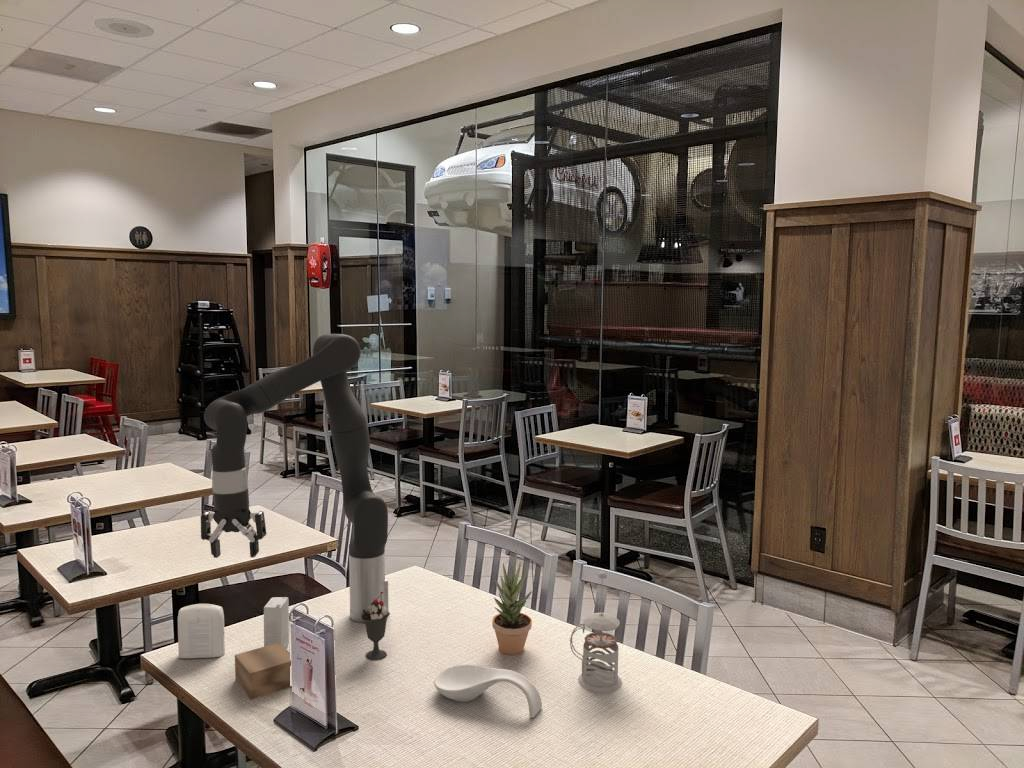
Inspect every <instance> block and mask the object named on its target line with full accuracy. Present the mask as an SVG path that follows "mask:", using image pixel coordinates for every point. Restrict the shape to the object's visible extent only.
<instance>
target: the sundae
mask: <svg viewBox="0 0 1024 768" xmlns="http://www.w3.org/2000/svg"><path fill="white" fill-rule="evenodd" d="M382 593H383V592H380V594H381V597H382ZM379 597H380V596H379ZM379 597H378V598H379ZM378 598H377V599H378ZM377 599H375V600H374V601H373V602H372V603H371V604H370V605H369V606H368V607H367V610H366V611H365V609H363V610H362V611H363V613H362V614H361V617H362V620H365V624H364V625H365V631H366V632H365V633H366V636H367V639H368V640H370V641H371V642H372V643H373V649H372V650H369V651H368V652H366V653H365V658H366V659H367V660H369V661H380V660H383V659H385V658H386V657H387V655H388V654H387V652H386V650H384V649H380V647H379V643H380V641H382V639H383V638H384V637H385V633H386V629H387V621H388V618H389V617H390V615H391V613H390V612H388V611H387V609H386V607H385V606H384V602H383V601H382V598H381V601H380V602H378V600H377Z"/></svg>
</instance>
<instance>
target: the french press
mask: <svg viewBox="0 0 1024 768" xmlns="http://www.w3.org/2000/svg"><path fill="white" fill-rule="evenodd" d="M597 577H598V578H599V579H601V593H600V595H601V597H600V601H601V602H600V605H601V607H600V612H593V613H590V614H588V615H586V616H584V618H583V619H582V621H583V624H579V625H577V626H576V627H574V628H573V630H572V632H571V634H570V638H569V642H570V643H569V645H570V646H569V647H570V650H571V652H572V654H573V656H575V657H576V658H578V659H579V660H581V673H580V674H579V676H578V678H577V683H578V684H579V686H581V687H582V688H583V689H585V690H587V691H589V692H594V693H598V694H599V693H600V694H601V693H604V694H605V693H606V694H607V693H612V692H615V691H617V690H619V689H621V687H622V686H623V680H622V678H621V677H620V676H618V675H619V645H618V638H617V637H616V636H614V634H611V633H608V632H611V631H614V630H616V629H618V628H619V626H620V624H621V623H620V619H618V618H617V617H616V616H614V615H612V614H610V613H606V612H603V586H604V585H603V584H604V583H603V581H604V580H605V579H607V573H606V572H604V571H599V573H598V574H597ZM582 626H583V627H582ZM585 626H586V627H587V628H588V629H590V630H592V631H596V632H589V633H588V634H587V635H586V636H585V637H584V643H583V645H582V646H583V647H582V648H583V649H582V654H581V653H580V652H578V651H577V649H575V647H574V644H573V635H574V634H575V633H576V632H577V631H578V630H582V633H583V634H584V633H585V628H586V627H585ZM594 649H597V650H594ZM598 649H602V650H598ZM609 649H610V650H609ZM592 650H594V651H592ZM603 650H604V651H603ZM611 650H612V651H613V652H612V651H611ZM577 654H578V655H579V656H578V655H577ZM580 656H581V657H582V658H581V657H580ZM606 663H607V664H608V665H607V664H606Z"/></svg>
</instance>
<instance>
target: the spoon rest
mask: <svg viewBox="0 0 1024 768" xmlns="http://www.w3.org/2000/svg"><path fill="white" fill-rule="evenodd" d="M498 683H509V684H512V685H513V686H515V687H516V688H518V689H519V690H520V691H522V693H523V694H524V696H525V698H526V700H527V704H528V705H527V706H528V713H529V714H528V715H529V717H530V718H531V719H533V718H535V717H536V716H537V714H538V713H539V712H540V711H541V710H542V707H543V702H542V698H541V694H540V693H539V690H538V689H537V687H536V686H535V685H534V683H532V682H531V681H530V680H529V679H528V678H527V677H525V676H524V675H522V674H520V673H519V672H517V671H514V670H511V669H503V668H494V667H493V668H492V667H487V666H481V665H476V664H460V665H459V664H457V665H453V666H450V667H447V668H446V669H443V670H442V671H440V672H439V673H438V674H437V675H436V676H435V677H434V679H433V686H434V687H435V689H436V690H437V692H438V693H440V694H441V695H442V696H444V697H445V698H447V699H450V700H453V701H457V702H464V703H465V702H470V701H473V700H475V699H476V698H478V697H479V696H480V695H481V694H483V693H484V692H485V691H487V690H488V689H490V687H493V686H494V685H496V684H498Z"/></svg>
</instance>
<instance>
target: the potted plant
mask: <svg viewBox="0 0 1024 768" xmlns="http://www.w3.org/2000/svg"><path fill="white" fill-rule="evenodd" d="M521 565H522V563H521V561H520V562H519V564H518V567H517V549H515V551H514V560H513V567H512V569H513V570H512V573H511V572H509V574H507V570H506V566H505V563H504V562H503V563H502V572H503V577H502V575H501V576H500V583H501V585H500V584H499V582H498V581H497V579H496V578H494V581H495V582H494V583H495V584H496V587H497V590H498V591H499V593H498V597H499V598H500V600H501V601H500V600H498V599H497V598H495V597H493V599H494V601H495V603H496V604H497V606H498V608H497V607H495V606H493V608H494V609H495V610H496V611H497V612H498V614H495V615H494V616H493V617H492V621H491V622H492V623H491V624H492V625H491V626H492V628H493V630H494V632H495V635H496V640H497V644H498V649H499V650H498V651H499V652H500V653H502V654H505V655H510V654H511V655H517V654H518V655H519V654H520V653H522V652H523V651H524V649H525V646H526V642H527V638H528V635H529V632H530V630H531V629H532V625H533V620H532V617H530V616H529V615H528V614H526V613H523V612H521V611H522V609H523V607H524V606H525V604H527V600H528V599H529V598H530V596H531V594H532V592H533V591H532V590H531V591H529V593H528V594H526V596H525V597H524V598H521V599H519V600H518V598H519V596H520V593H521V591H522V589H523V585H524V583H525V579H526V576H527V573H528V571H529V568H528V567H527V568H526V570H525V571H524V573H523V575H522V577H521V578H520V573H521ZM516 569H517V570H516ZM508 575H509V577H508ZM519 578H520V580H519Z"/></svg>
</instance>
